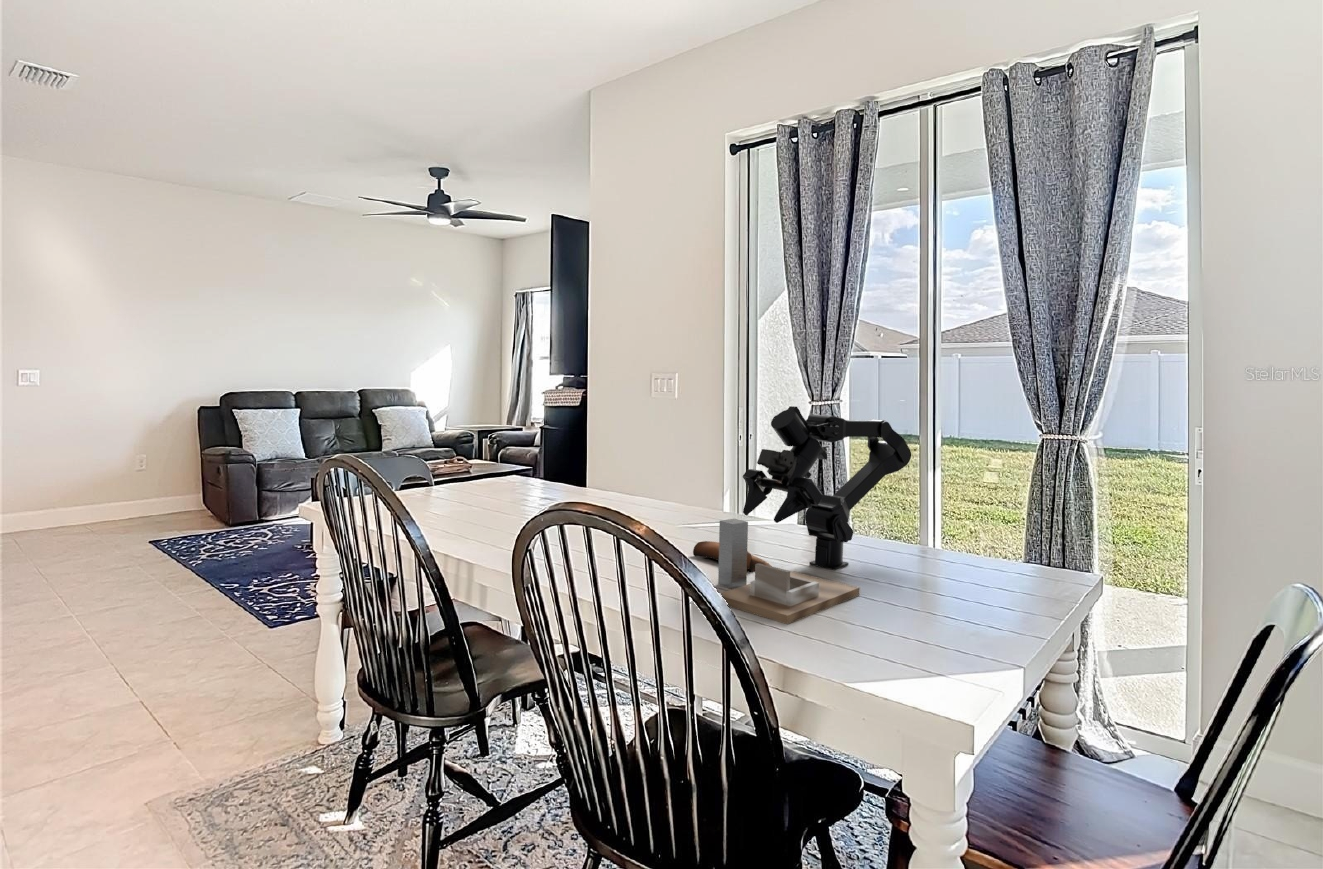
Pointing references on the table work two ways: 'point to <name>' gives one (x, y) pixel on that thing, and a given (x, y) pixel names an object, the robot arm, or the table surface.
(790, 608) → the keeper board
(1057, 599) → the table surface
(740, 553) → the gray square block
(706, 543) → the sunglasses case
